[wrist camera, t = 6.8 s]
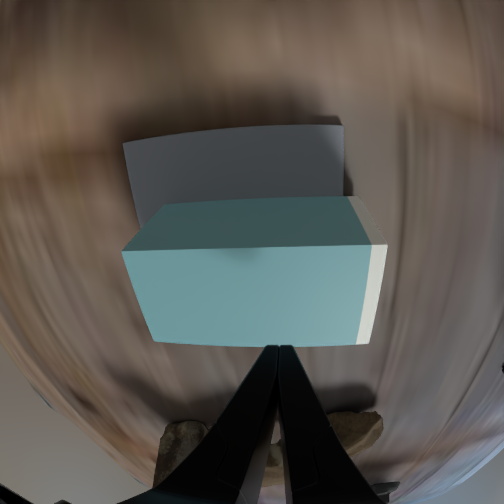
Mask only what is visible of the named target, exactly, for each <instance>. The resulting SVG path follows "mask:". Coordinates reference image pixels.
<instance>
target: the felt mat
mask: <svg viewBox="0 0 504 504" xmlns="http://www.w3.org/2000/svg"><path fill="white" fill-rule="evenodd" d="M123 149H124V154H125V160H126V165H127V170H128V175H129V180H130V185H131V190H132V195H133V199H134V204H135V208H136V212H137V217H138V221H139V225H140V229H142V228H143V227H144V225H145V224H146V223H147V222H148V221H149V220H150V219H151V218H152V217H153V216H154V215H155V214H156V213H157V212H158V211H159V209H160V208H161V207H162V206H163V205H164V204H175V203H188V202H202V201H218V200H236V199H256V198H282V197H322V196H343V178H344V126H343V125H330V124H299V125H267V126H249V127H235V128H224V129H213V130H204V131H195V132H187V133H179V134H172V135H165V136H159V137H152V138H146V139H141V140H135V141H130V142H125V143H123Z"/></svg>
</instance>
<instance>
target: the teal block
mask: <svg viewBox="0 0 504 504" xmlns="http://www.w3.org/2000/svg"><path fill="white" fill-rule="evenodd" d="M387 246H388V244H387V243H386V241H385V239H384V237H383V236H382V234H381V232H380V230H379V229H378V227H377V225H376V224H375V222H374V220H373V219H372V217H371V215H370V214H369V212H368V210H367V209H366V207H365V205H364V204H363V202H362V201H361V199H360V198H359V196H322V197H282V198H256V199H236V200H218V201H202V202H188V203H175V204H164V205H163V206H162V207H161V208H160V209H159V211H158V212H157V213H156V214H155V215H154V216H153V217H152V218H151V219H150V220H149V221H148V222H147V223H146V224H145V225H144V227H143V228H142V229H141V230H140V231H139V232H138V233H137V234H136V235H135V236H134V238H133V239H132V240H131V241H130V242H129V243H128V244H127V245H126V247H125V248H124V249H123V250H122V251H121V252H122V255H123V258H124V261H125V265H126V268H127V271H128V274H129V276H130V279H131V282H132V285H133V288H134V291H135V294H136V296H137V299H138V302H139V304H140V307H141V310H142V312H143V315H144V318H145V320H146V323H147V325H148V328H149V330H150V333H151V335H152V338H153V340H154V341H157V342H168V343H181V344H197V345H215V346H244V347H265V346H266V345H279V346H280V345H292V346H293V347H308V346H337V345H355V344H369V340H370V336H371V331H372V327H373V323H374V318H375V314H376V309H377V304H378V299H379V294H380V289H381V283H382V278H383V272H384V266H385V259H386V253H387Z"/></svg>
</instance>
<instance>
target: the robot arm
mask: <svg viewBox="0 0 504 504" xmlns="http://www.w3.org/2000/svg"><path fill="white" fill-rule="evenodd" d="M502 372H503V374H504V367H503V369H502ZM277 408H278V412H279V423H280V435H281V446H282V458H283V470H284V482H285V494H286V504H387V503H386V502H384V501H383V500H382V499H381V498H380V497H379V496H378V495H377V494H376V493H375V492H374V490H373V489H372V488H371V486H370V485H369V484H368V482H367V481H366V479H365V478H364V477H363V475H362V474H361V473H360V471H359V470H358V468H357V467H356V466H355V464H354V463H353V461H352V460H351V458H350V457H349V455H348V454H347V452H346V451H345V449H344V447H343V446H342V444H341V442H340V440H339V438H338V436H337V434H336V432H335V430H334V428H333V426H331V423H330V421H329V418H328V416H327V414H326V412H325V410H324V408H323V406H322V404H321V402H320V400H319V398H318V396H317V394H316V392H315V390H314V388H313V386H312V384H311V382H310V380H309V378H308V376H307V374H306V372H305V369H304V367H303V365H302V363H301V361H300V359H299V357H298V355H297V353H296V351H295V349H294V347H293V346H292V345H280V346H279V345H266V346H265V347H264V349H263V351H262V352H261V354H260V355H259V357H258V358H257V360H256V362H255V363H254V365H253V366H252V368H251V369H250V371H249V372H248V374H247V375H246V377H245V378H244V380H243V381H242V383H241V385H240V386H239V388H238V389H237V391H236V392H235V393H234V395H233V396H232V398H231V399H230V401H229V402H228V404H227V405H226V407H225V408H224V410H223V411H222V413H221V414H220V415H219V417H218V418H217V420H216V423H214V424H213V425H212V427H211V428H210V430H209V431H208V432H207V434H206V435H205V436H204V438H203V439H202V440H201V441H200V443H199V444H198V445H197V446H196V447H195V448H194V449H193V450H192V452H191V453H190V454H189V455H188V456H187V457H186V458H185V459H184V460H183V461H182V462H181V463H180V464H179V465H178V466H177V467H176V468H175V469H174V470H173V471H172V472H171V473H170V474H169V475H168V476H167V477H166V478H165V479H164V480H162V481H161V482H160V483H159V484H158V485H156V486H155V487H153V488H152V489H150V490H148V491H146V492H144V493H142V494H139V495H137V496H135V497H132V498H130V499H128V500H125V501H122V502H120V503H117V504H257V502H258V498H259V494H260V489H261V485H262V481H263V476H264V472H265V467H266V463H267V458H268V454H269V449H270V444H271V439H272V434H273V429H274V424H275V419H276V414H277ZM0 504H33V503H31V502H30V501H28V500H27V499H25V498H23V497H22V496H20V495H19V494H17V493H15V492H14V491H12V490H10V489H9V488H7V487H5V486H4V485H2V484H1V483H0ZM54 504H71V503H69V502H67V501H65V500H60V501H58V502H56V503H54Z"/></svg>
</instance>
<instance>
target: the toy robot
mask: <svg viewBox="0 0 504 504" xmlns="http://www.w3.org/2000/svg"><path fill="white" fill-rule="evenodd" d="M399 484H400V482H390V483H382V484H376V485H373V486H371V488H372V489H373V490H374V492H375V493H376V494H377V495H378V496H379V497H380V498H381V499H382V500H383V501H384V502H386V503H387V504H388V503H389V494H390V493H391V492H393V491H395V490H396V489H397V488H398V486H399Z"/></svg>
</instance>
